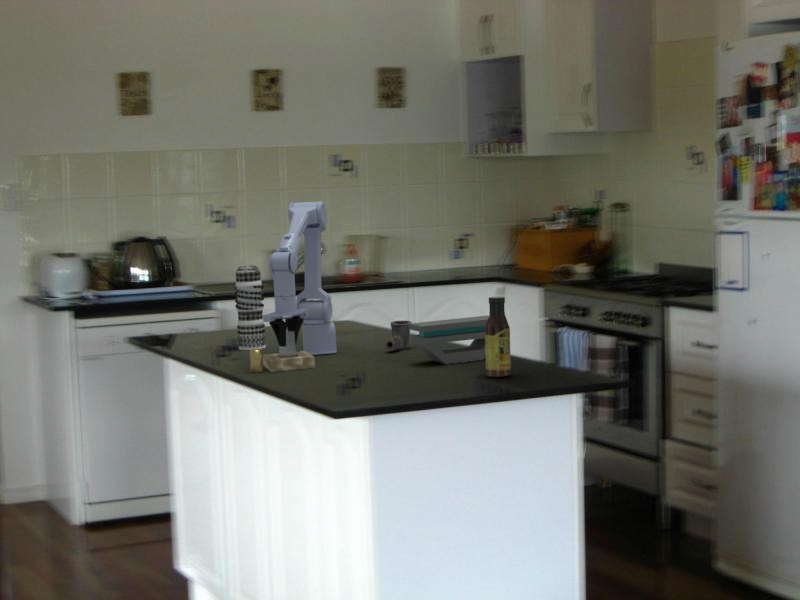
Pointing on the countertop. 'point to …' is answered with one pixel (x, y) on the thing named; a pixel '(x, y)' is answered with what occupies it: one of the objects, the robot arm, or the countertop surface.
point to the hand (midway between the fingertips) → (287, 345)
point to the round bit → (256, 360)
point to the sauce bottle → (497, 340)
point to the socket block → (288, 362)
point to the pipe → (398, 336)
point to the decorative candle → (249, 308)
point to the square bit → (288, 346)
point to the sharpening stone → (451, 338)
